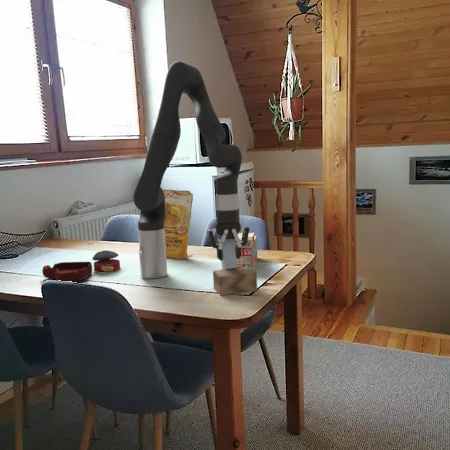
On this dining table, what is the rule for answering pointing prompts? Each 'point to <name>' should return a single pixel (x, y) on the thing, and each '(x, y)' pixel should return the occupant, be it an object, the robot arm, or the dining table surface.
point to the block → (228, 255)
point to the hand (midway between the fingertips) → (229, 259)
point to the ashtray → (68, 271)
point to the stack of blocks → (247, 252)
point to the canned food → (106, 261)
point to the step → (235, 280)
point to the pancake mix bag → (177, 222)
